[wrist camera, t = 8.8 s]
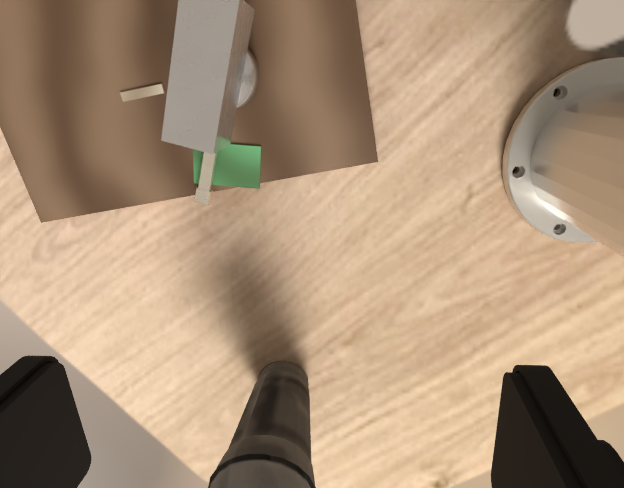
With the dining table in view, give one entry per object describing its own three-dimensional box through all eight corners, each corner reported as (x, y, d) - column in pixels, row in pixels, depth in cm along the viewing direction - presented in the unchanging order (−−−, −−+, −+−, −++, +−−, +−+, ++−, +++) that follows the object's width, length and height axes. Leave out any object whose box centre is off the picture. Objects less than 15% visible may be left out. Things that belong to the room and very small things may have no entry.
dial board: (342, -84, 26) (342, -95, 25) (376, 163, 32) (378, 167, 30) (-33, 10, 30) (-53, 6, 28) (55, 221, 35) (41, 227, 33)
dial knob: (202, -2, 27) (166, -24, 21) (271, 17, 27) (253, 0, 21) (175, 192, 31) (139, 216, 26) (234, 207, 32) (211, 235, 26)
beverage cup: (242, 409, 40) (159, 691, 22) (244, 343, 38) (153, 599, 19) (319, 418, 40) (303, 710, 22) (327, 352, 38) (316, 619, 19)
